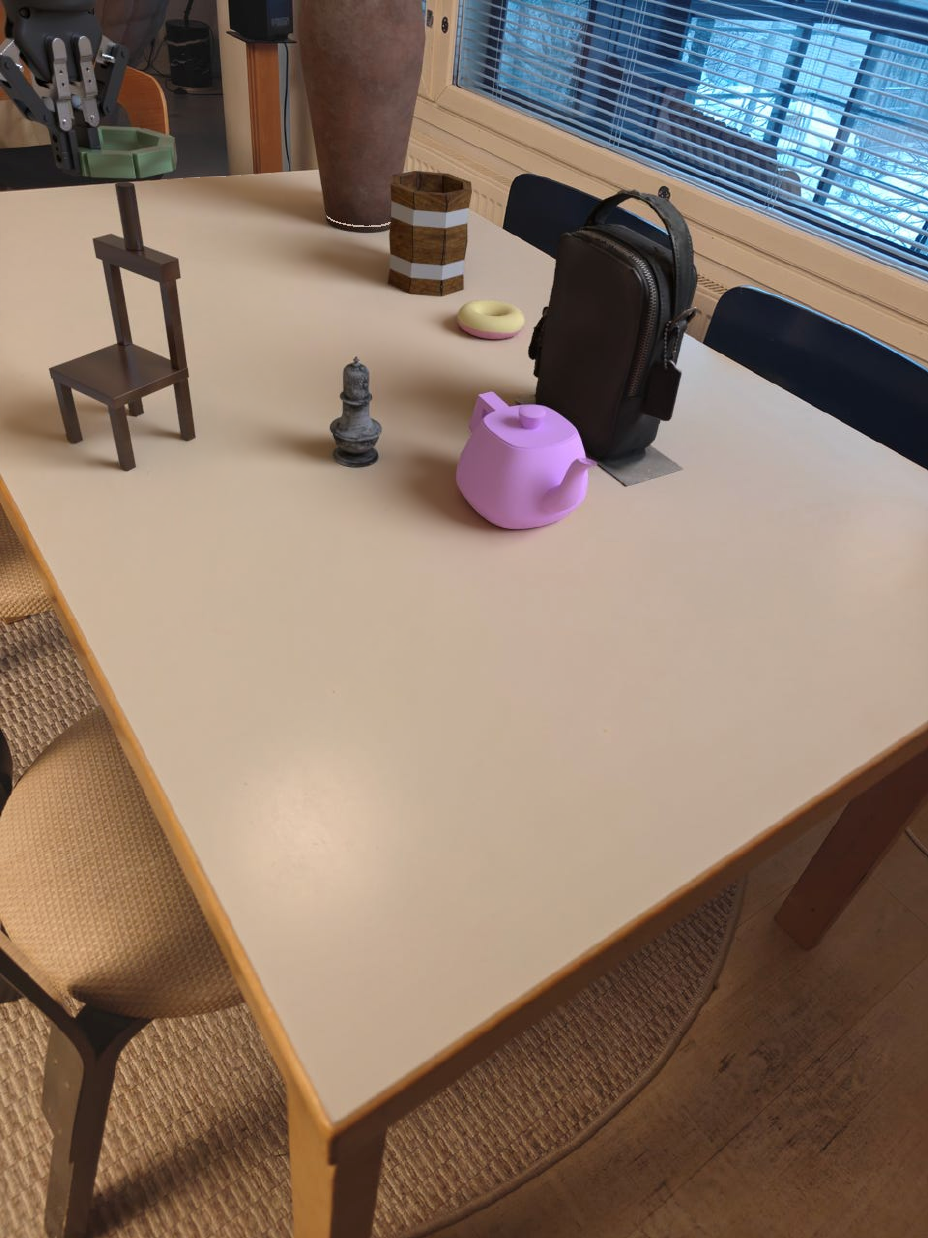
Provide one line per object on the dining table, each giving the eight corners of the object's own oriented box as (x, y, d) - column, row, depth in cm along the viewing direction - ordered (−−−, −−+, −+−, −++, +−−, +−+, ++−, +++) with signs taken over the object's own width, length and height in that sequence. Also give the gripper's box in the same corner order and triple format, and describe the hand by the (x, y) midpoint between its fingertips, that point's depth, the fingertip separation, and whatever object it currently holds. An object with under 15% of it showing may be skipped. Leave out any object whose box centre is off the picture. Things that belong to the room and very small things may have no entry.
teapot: (525, 571, 85) (541, 475, 78) (423, 473, 97) (429, 381, 90) (626, 537, 91) (650, 444, 84) (518, 448, 103) (531, 361, 96)
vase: (395, 196, 177) (404, -85, 148) (429, 239, 159) (448, -72, 129) (291, 195, 171) (279, -97, 142) (314, 240, 153) (305, -86, 123)
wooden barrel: (479, 293, 141) (489, 194, 131) (402, 299, 136) (406, 197, 126) (434, 252, 154) (440, 159, 144) (362, 256, 149) (363, 160, 139)
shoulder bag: (683, 468, 103) (755, 223, 85) (626, 486, 99) (689, 232, 81) (568, 389, 117) (608, 162, 99) (514, 401, 113) (545, 167, 94)
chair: (127, 472, 92) (77, 216, 75) (65, 440, 96) (4, 189, 79) (201, 435, 99) (170, 193, 82) (141, 407, 103) (100, 170, 86)
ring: (110, 184, 77) (106, 160, 76) (34, 159, 81) (29, 135, 80) (199, 165, 84) (197, 142, 83) (125, 143, 88) (121, 121, 87)
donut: (518, 357, 128) (518, 323, 134) (527, 330, 125) (527, 297, 131) (453, 341, 127) (456, 308, 133) (460, 313, 123) (463, 280, 129)
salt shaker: (348, 473, 96) (348, 373, 88) (320, 450, 99) (317, 351, 91) (391, 459, 99) (395, 361, 91) (362, 437, 102) (363, 340, 94)
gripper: (77, -72, 74) (114, 152, 85) (-76, -76, 65) (-12, 175, 76) (138, -61, 71) (167, 169, 82) (-13, -63, 62) (43, 195, 73)
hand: (81, 171), depth 79 cm, fingers closed on ring, 1 cm apart
